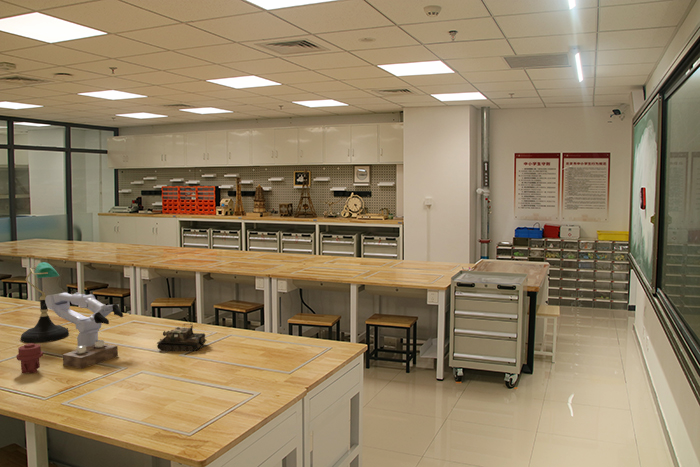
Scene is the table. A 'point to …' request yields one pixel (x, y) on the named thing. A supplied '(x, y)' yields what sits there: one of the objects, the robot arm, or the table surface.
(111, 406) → the table surface
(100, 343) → the peg
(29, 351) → the mechanical component
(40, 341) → the banker's lamp
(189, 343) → the model tank
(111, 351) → the walnut block
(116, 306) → the robot arm
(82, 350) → the peg
